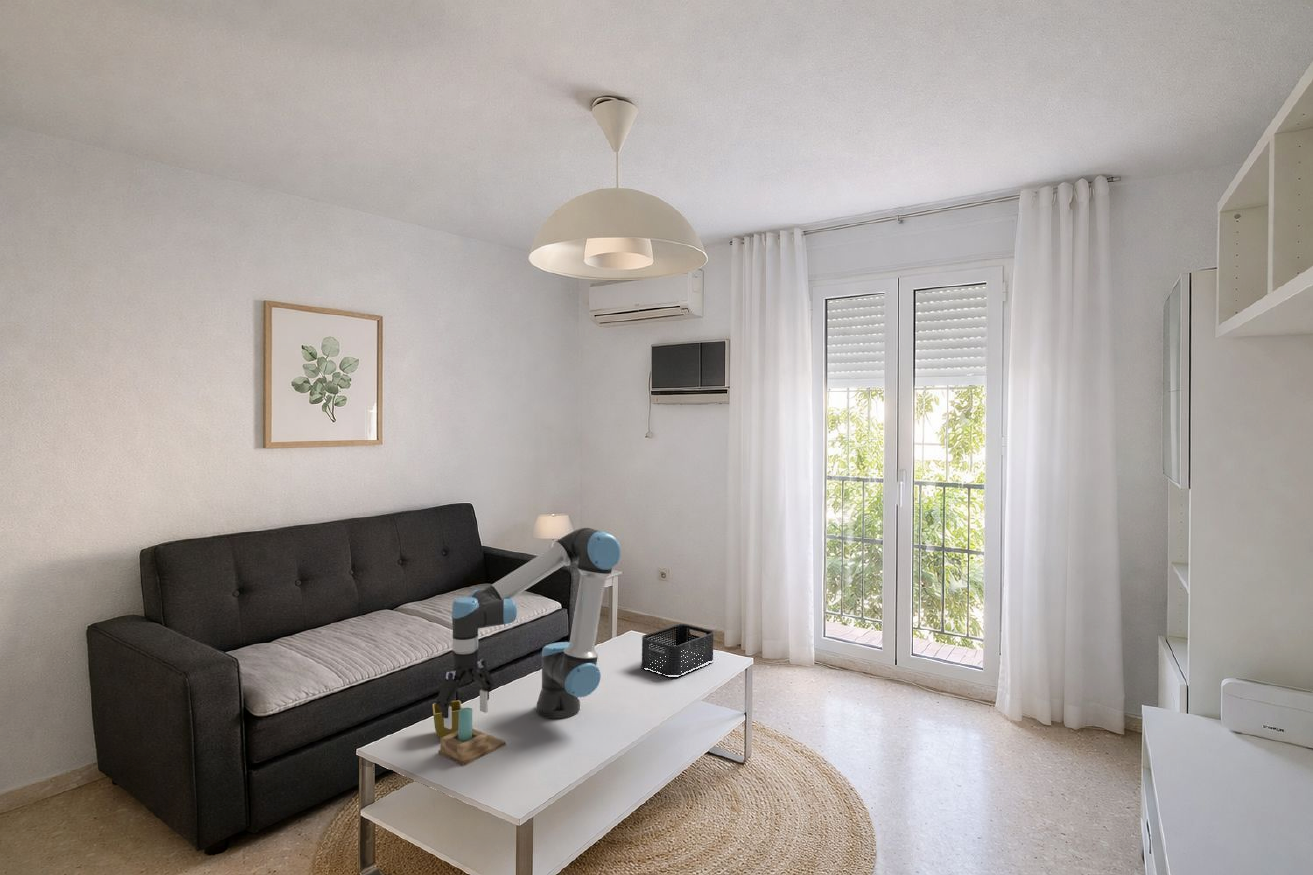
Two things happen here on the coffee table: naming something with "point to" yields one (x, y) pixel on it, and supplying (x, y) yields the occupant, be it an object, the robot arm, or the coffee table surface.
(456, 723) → the flower pot
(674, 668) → the storage bin
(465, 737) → the peg
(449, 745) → the socket board
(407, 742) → the coffee table surface
